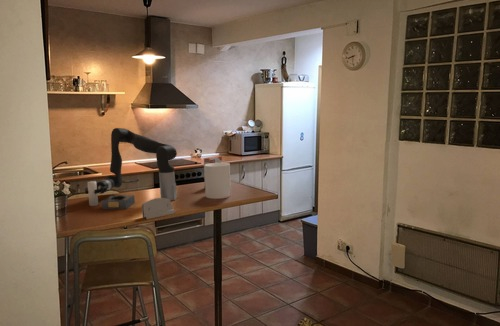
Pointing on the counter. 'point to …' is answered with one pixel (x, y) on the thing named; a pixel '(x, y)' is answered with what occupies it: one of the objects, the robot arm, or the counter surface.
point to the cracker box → (212, 161)
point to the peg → (92, 193)
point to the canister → (217, 180)
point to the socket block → (118, 202)
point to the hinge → (157, 208)
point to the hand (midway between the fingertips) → (90, 192)
